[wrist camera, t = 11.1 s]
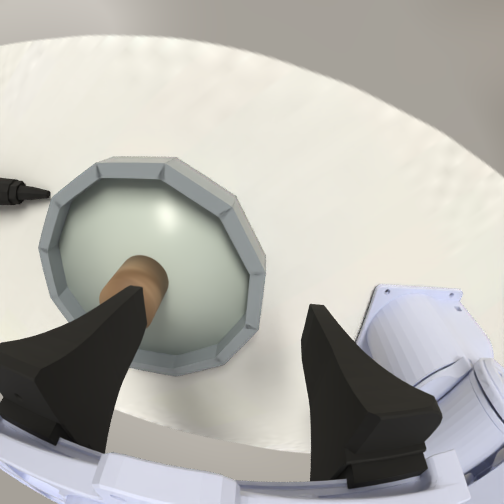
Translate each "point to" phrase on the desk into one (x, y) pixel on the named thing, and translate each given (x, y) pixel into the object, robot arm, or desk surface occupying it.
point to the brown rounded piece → (139, 282)
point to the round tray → (159, 256)
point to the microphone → (19, 192)
